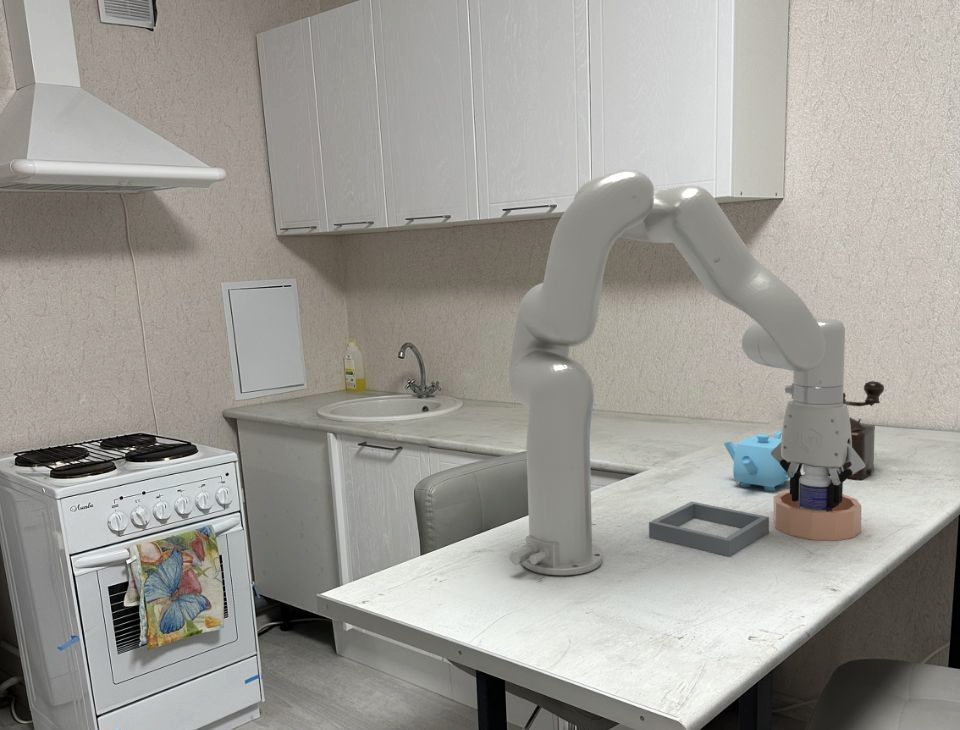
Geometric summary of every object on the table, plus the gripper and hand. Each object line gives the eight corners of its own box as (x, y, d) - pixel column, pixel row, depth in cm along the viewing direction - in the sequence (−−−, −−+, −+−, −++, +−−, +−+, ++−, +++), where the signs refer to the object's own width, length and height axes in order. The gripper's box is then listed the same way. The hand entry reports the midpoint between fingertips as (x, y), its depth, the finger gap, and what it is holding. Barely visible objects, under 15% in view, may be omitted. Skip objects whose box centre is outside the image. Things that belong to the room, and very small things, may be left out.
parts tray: (729, 556, 120) (729, 540, 120) (649, 536, 130) (648, 522, 129) (768, 531, 130) (768, 517, 130) (691, 515, 140) (691, 501, 139)
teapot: (777, 501, 146) (777, 448, 144) (705, 489, 155) (705, 438, 153) (811, 479, 159) (812, 429, 158) (743, 468, 168) (743, 422, 167)
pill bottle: (835, 521, 128) (837, 468, 127) (801, 520, 129) (802, 467, 128) (828, 511, 133) (829, 460, 132) (795, 510, 134) (796, 459, 133)
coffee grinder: (865, 481, 156) (867, 391, 153) (807, 473, 163) (808, 387, 160) (884, 464, 168) (887, 380, 165) (829, 457, 175) (831, 377, 172)
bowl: (842, 546, 123) (842, 518, 122) (761, 528, 131) (761, 503, 131) (870, 524, 132) (871, 498, 131) (793, 509, 141) (793, 485, 140)
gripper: (757, 393, 132) (755, 498, 134) (865, 403, 120) (861, 519, 122) (776, 387, 137) (774, 488, 140) (881, 396, 125) (878, 507, 128)
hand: (815, 501), depth 131 cm, fingers closed on pill bottle, 5 cm apart
